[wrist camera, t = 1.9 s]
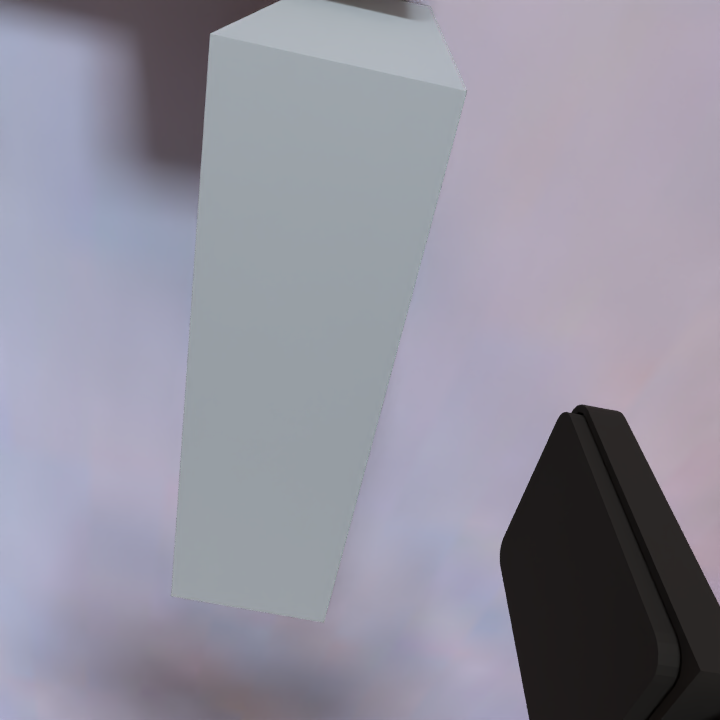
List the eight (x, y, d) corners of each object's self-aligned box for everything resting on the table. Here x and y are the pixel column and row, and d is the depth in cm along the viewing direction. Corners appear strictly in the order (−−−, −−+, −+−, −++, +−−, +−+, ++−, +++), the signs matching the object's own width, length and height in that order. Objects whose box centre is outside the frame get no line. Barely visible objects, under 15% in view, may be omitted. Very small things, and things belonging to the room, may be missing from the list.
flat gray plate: (320, -19, 18) (209, 33, 8) (430, 7, 18) (467, 91, 8) (273, 307, 23) (170, 595, 13) (358, 324, 23) (323, 622, 13)
